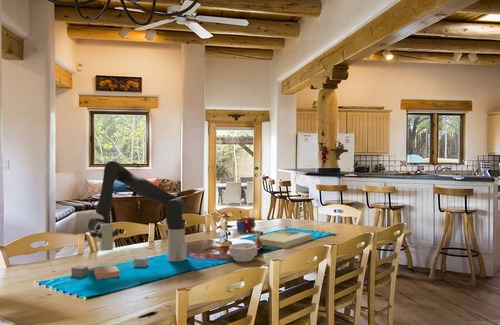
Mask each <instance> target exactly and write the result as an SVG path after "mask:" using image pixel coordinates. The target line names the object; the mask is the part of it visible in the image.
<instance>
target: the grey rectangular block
mask: <svg viewBox="0 0 500 325" xmlns="http://www.w3.org/2000/svg"><path fill="white" fill-rule="evenodd" d="M88 275H89V266H81V265H77V266H72V267H71V277H74V278H75V277H77V278H83V277H86V276H88Z"/></svg>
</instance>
